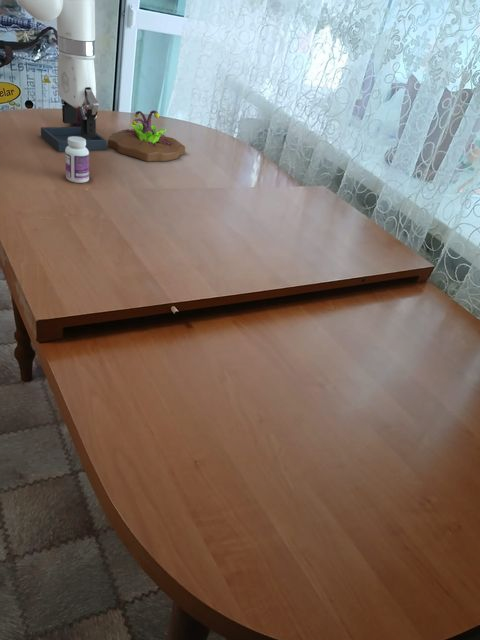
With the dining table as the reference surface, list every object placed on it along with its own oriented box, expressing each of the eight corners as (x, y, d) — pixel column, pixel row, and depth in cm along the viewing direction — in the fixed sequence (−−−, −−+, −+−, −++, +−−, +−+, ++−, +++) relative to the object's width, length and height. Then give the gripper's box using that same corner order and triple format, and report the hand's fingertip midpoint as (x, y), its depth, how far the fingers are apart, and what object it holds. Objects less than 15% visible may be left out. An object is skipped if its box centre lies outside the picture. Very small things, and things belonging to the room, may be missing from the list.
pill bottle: (91, 177, 134) (91, 138, 129) (85, 185, 130) (85, 144, 124) (69, 173, 134) (68, 133, 128) (62, 180, 130) (61, 139, 124)
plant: (152, 166, 148) (155, 124, 142) (97, 144, 154) (97, 102, 147) (194, 154, 163) (198, 115, 157) (143, 134, 169) (145, 95, 162)
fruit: (85, 124, 166) (85, 96, 162) (97, 132, 162) (97, 104, 157) (60, 124, 162) (60, 95, 157) (71, 133, 157) (71, 103, 153)
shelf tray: (58, 151, 144) (58, 141, 142) (41, 136, 150) (40, 127, 149) (106, 149, 152) (106, 140, 150) (87, 135, 158) (87, 126, 157)
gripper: (42, 36, 118) (47, 118, 128) (77, 57, 108) (80, 143, 118) (75, 38, 122) (78, 117, 132) (112, 58, 113) (111, 142, 123)
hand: (79, 129), depth 125 cm, fingers open, 9 cm apart
